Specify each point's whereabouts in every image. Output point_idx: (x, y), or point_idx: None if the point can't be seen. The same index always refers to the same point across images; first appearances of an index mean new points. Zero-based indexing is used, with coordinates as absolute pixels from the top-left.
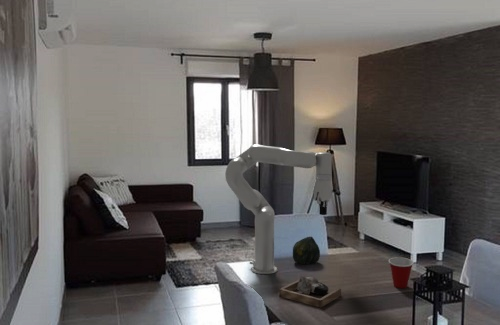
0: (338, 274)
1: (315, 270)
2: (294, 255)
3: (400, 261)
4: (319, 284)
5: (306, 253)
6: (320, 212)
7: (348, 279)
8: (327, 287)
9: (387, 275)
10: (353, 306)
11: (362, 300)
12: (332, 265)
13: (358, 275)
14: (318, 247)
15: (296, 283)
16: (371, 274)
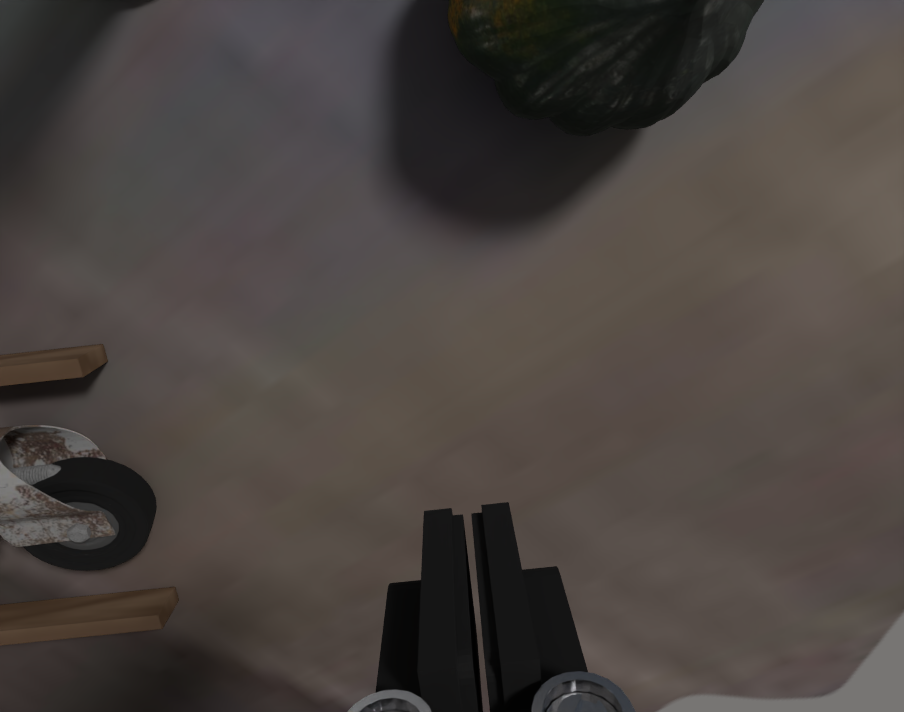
0: (490, 390)
1: (448, 212)
2: None
3: None
4: (68, 539)
5: (487, 73)
6: (387, 592)
7: (447, 489)
8: (131, 551)
9: (686, 603)
10: (112, 706)
11: (214, 697)
12: (657, 232)
13: (565, 490)
14: (674, 102)
15: (1, 383)
16: (641, 534)
